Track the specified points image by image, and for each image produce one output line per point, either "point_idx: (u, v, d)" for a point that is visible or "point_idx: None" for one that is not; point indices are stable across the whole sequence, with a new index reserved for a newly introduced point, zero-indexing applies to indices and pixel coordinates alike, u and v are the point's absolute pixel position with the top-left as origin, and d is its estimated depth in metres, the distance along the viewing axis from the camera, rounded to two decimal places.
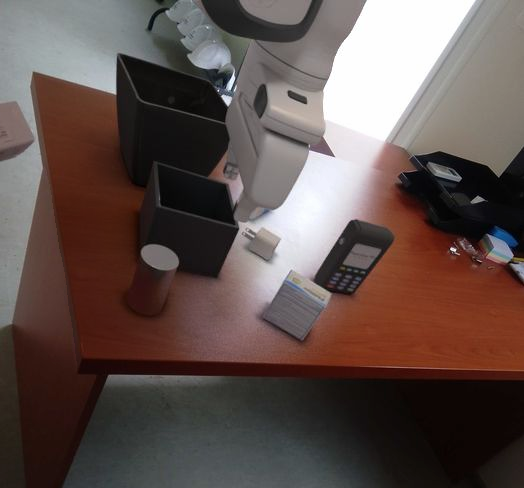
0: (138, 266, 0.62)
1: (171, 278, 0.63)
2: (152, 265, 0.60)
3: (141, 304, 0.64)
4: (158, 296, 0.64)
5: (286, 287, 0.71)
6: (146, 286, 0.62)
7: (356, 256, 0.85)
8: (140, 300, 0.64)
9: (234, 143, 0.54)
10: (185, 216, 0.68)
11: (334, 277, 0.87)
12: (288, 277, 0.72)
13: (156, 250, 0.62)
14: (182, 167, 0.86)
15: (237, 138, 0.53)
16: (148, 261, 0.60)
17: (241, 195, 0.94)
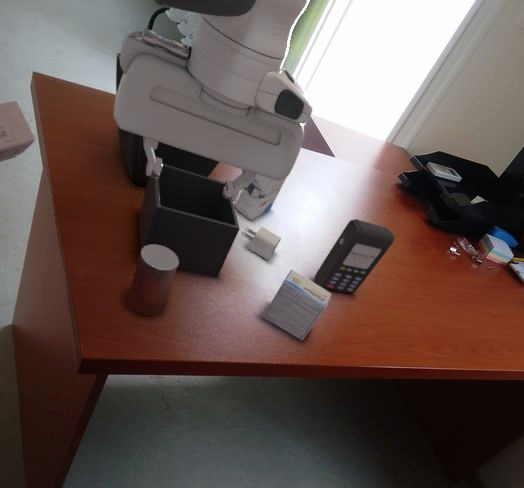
0: (138, 266, 0.62)
1: (171, 278, 0.63)
2: (152, 265, 0.60)
3: (141, 304, 0.64)
4: (158, 296, 0.64)
5: (286, 287, 0.71)
6: (146, 286, 0.62)
7: (356, 256, 0.85)
8: (140, 300, 0.64)
9: (193, 145, 0.49)
10: (185, 216, 0.68)
11: (334, 277, 0.87)
12: (288, 277, 0.72)
13: (156, 250, 0.62)
14: (182, 167, 0.86)
15: (198, 138, 0.49)
16: (148, 261, 0.60)
17: (241, 195, 0.94)
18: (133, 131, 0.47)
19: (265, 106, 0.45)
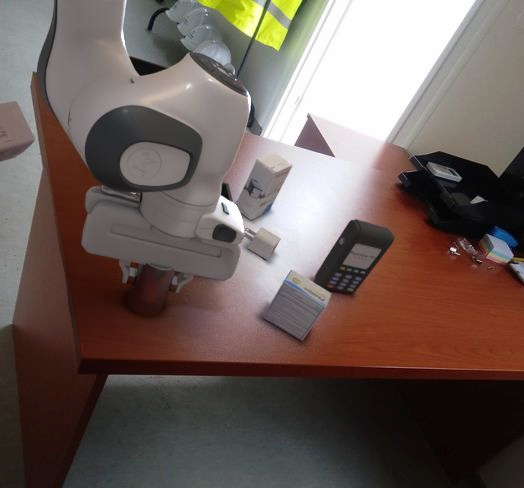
0: (138, 266, 0.62)
1: (171, 278, 0.63)
2: (152, 265, 0.60)
3: (141, 304, 0.64)
4: (157, 296, 0.64)
5: (286, 287, 0.71)
6: (146, 286, 0.62)
7: (356, 256, 0.85)
8: (140, 300, 0.64)
9: (148, 261, 0.60)
10: None
11: (334, 277, 0.87)
12: (288, 277, 0.72)
13: None
14: None
15: (152, 256, 0.59)
16: None
17: (241, 195, 0.94)
18: (98, 254, 0.57)
19: (204, 236, 0.56)
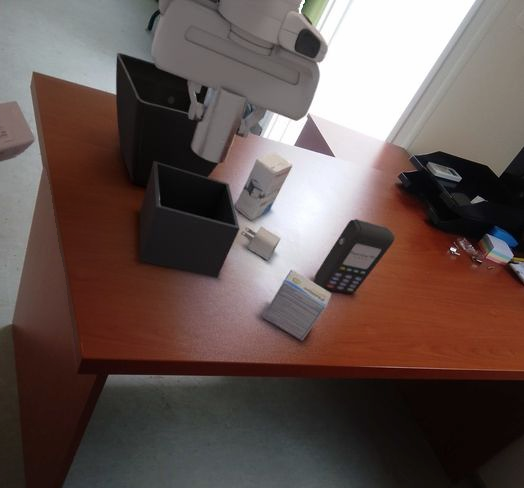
0: (207, 96, 0.57)
1: (242, 112, 0.58)
2: (225, 89, 0.55)
3: (208, 145, 0.60)
4: (226, 135, 0.59)
5: (286, 287, 0.71)
6: (215, 119, 0.57)
7: (356, 256, 0.85)
8: (207, 140, 0.59)
9: (221, 84, 0.55)
10: (185, 216, 0.68)
11: (334, 277, 0.87)
12: (288, 277, 0.72)
13: None
14: (182, 167, 0.86)
15: (225, 78, 0.54)
16: None
17: (241, 195, 0.94)
18: (169, 70, 0.53)
19: (286, 44, 0.51)
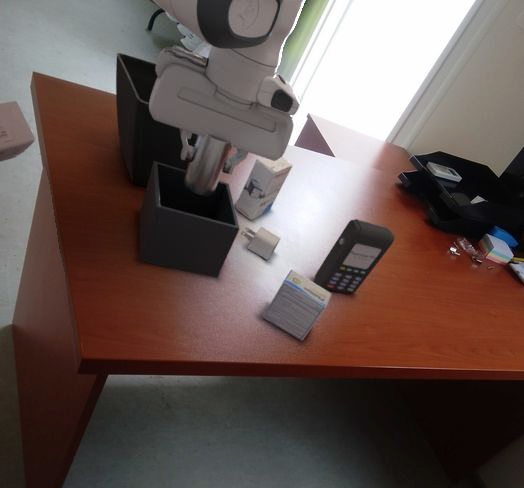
0: (197, 141, 0.66)
1: (227, 154, 0.67)
2: (212, 136, 0.64)
3: (198, 181, 0.69)
4: (213, 173, 0.68)
5: (286, 287, 0.71)
6: (204, 160, 0.67)
7: (356, 256, 0.85)
8: (197, 177, 0.69)
9: (208, 132, 0.64)
10: (185, 216, 0.68)
11: (334, 277, 0.87)
12: (288, 277, 0.72)
13: None
14: (182, 167, 0.86)
15: (212, 127, 0.64)
16: None
17: (241, 195, 0.94)
18: (164, 121, 0.62)
19: (263, 102, 0.60)
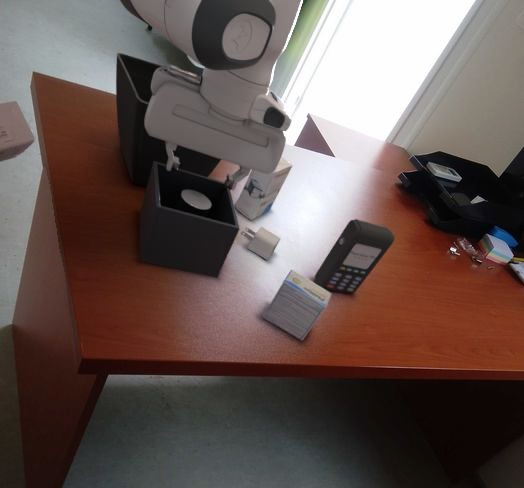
0: (177, 206, 0.74)
1: None
2: (191, 204, 0.72)
3: None
4: None
5: (286, 287, 0.71)
6: None
7: (356, 256, 0.85)
8: None
9: (202, 147, 0.66)
10: (185, 216, 0.68)
11: (334, 277, 0.87)
12: (288, 277, 0.72)
13: (192, 194, 0.74)
14: (182, 167, 0.86)
15: (206, 142, 0.65)
16: (188, 201, 0.72)
17: (241, 195, 0.94)
18: (159, 137, 0.64)
19: (256, 119, 0.62)
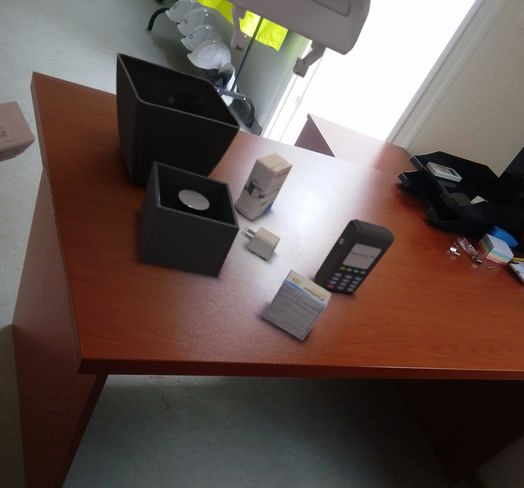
0: (175, 207, 0.74)
1: None
2: (188, 205, 0.72)
3: None
4: None
5: (286, 287, 0.71)
6: None
7: (356, 256, 0.85)
8: None
9: (275, 14, 0.57)
10: (185, 216, 0.68)
11: (334, 277, 0.87)
12: (288, 277, 0.72)
13: (190, 194, 0.74)
14: (182, 167, 0.86)
15: (280, 7, 0.56)
16: (185, 202, 0.72)
17: (241, 195, 0.94)
18: None
19: None
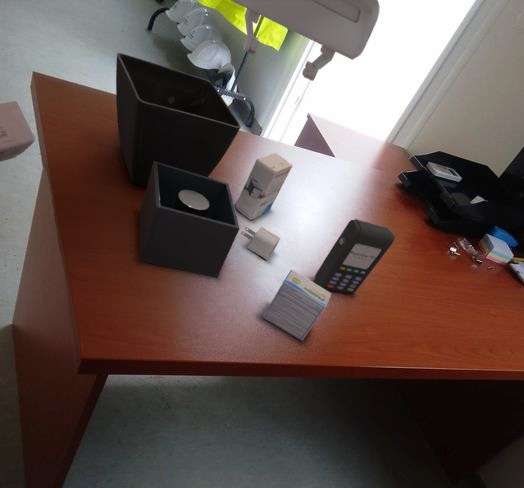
0: (175, 207, 0.74)
1: None
2: (188, 205, 0.72)
3: None
4: None
5: (286, 287, 0.71)
6: None
7: (356, 256, 0.85)
8: None
9: (288, 19, 0.59)
10: (185, 216, 0.68)
11: (334, 277, 0.87)
12: (288, 277, 0.72)
13: (190, 194, 0.74)
14: (182, 167, 0.86)
15: (293, 13, 0.58)
16: (185, 202, 0.72)
17: (241, 195, 0.94)
18: (242, 3, 0.57)
19: None
